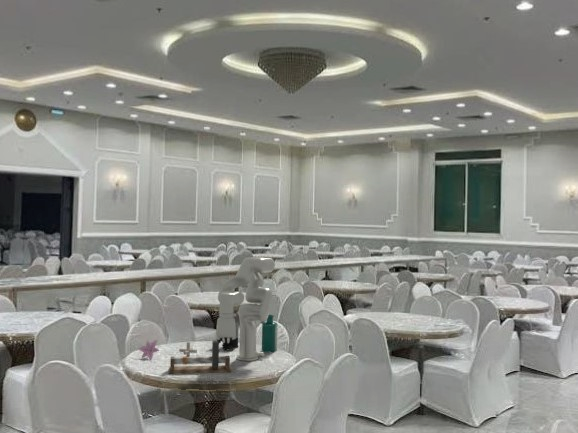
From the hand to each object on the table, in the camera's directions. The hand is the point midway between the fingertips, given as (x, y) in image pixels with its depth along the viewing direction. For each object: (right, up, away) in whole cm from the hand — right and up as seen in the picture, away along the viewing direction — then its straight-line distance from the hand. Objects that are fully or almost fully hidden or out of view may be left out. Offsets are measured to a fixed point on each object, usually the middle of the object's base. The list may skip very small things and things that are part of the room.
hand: (225, 350), depth 328 cm
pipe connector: (-24, -10, +20) cm, 33 cm away
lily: (-46, -10, +24) cm, 53 cm away
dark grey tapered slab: (-6, -9, -1) cm, 11 cm away
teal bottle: (+21, -11, +49) cm, 54 cm away
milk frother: (-3, -11, +52) cm, 53 cm away
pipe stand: (-13, -10, -2) cm, 17 cm away
